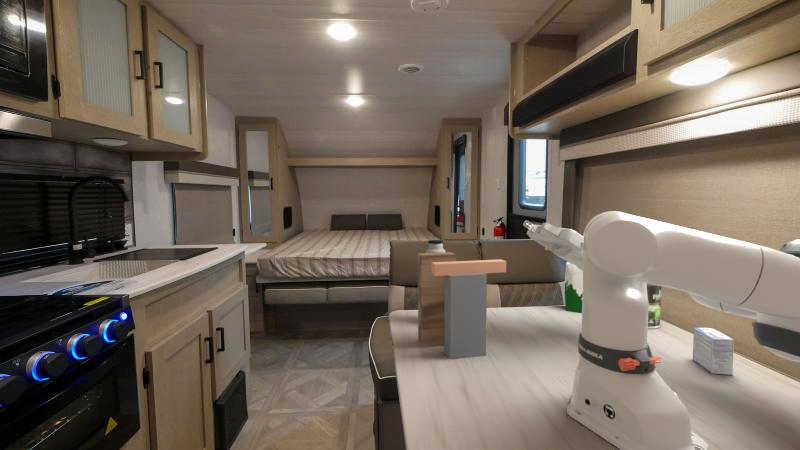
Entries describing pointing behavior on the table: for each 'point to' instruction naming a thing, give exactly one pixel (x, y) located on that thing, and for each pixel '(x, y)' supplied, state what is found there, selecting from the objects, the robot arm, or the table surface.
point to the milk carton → (573, 288)
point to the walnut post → (431, 299)
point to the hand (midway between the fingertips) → (534, 223)
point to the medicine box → (713, 350)
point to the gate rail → (468, 267)
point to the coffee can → (654, 305)
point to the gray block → (465, 315)
